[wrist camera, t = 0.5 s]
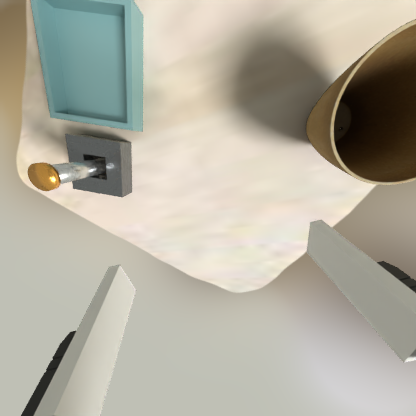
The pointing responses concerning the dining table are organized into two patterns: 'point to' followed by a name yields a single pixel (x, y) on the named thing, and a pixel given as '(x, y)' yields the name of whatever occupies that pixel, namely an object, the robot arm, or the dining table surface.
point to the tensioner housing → (115, 164)
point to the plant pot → (372, 113)
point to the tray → (92, 60)
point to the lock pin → (63, 172)
